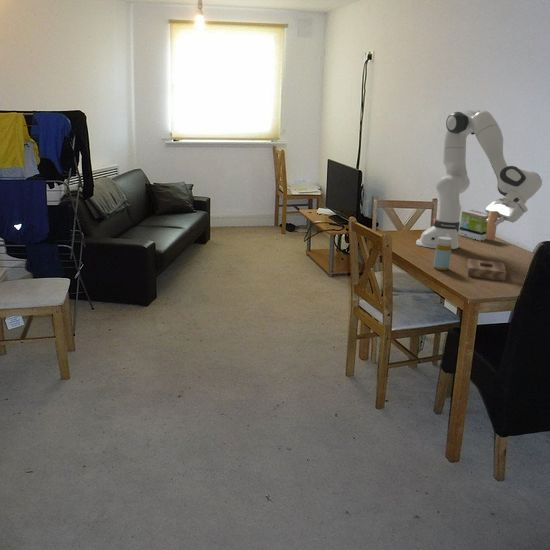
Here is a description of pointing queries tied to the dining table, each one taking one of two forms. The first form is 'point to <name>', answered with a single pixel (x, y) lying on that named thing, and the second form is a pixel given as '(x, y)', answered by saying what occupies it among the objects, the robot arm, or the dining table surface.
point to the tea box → (473, 224)
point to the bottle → (442, 253)
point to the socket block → (486, 269)
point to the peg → (491, 225)
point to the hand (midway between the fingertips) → (491, 223)
